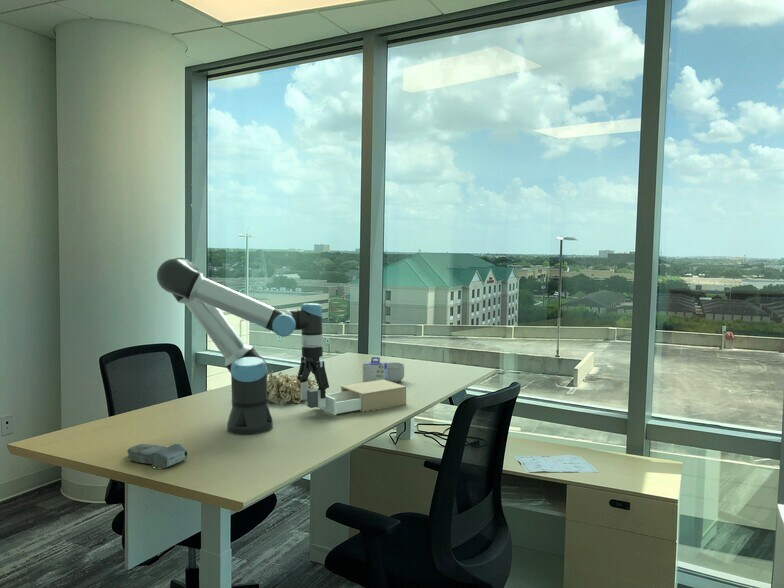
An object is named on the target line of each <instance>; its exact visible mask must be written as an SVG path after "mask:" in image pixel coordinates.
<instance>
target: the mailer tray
mask: <svg viewBox="0 0 784 588" xmlns="http://www.w3.org/2000/svg"><path fill="white" fill-rule="evenodd" d="M306 404H307V405H306V406H307V407H308V408H310V409H313V408H317V409H319V410H322V411H324V412H326V413H328V414H331V415H332V416H337V414H343V413H348V412H354V411H355V412H356V411H359V410H360V409H362V395H361V394H358V393H355V392H352V391H350V390H348V391H342V392H341V391H337V392H332V393H326V407H321V408H318V388H317V389H315V388H314V389H312V390H307V402H306Z"/></svg>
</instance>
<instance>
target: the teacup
mask: <svg viewBox="0 0 784 588" xmlns="http://www.w3.org/2000/svg"><path fill="white" fill-rule="evenodd" d="M386 363H387V381H390V382H393V383H396V384H398V383H400V382H401V381H402V380H403V379H404V377H405V363H403V362H386ZM397 382H398V383H397Z"/></svg>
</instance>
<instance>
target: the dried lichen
mask: <svg viewBox="0 0 784 588" xmlns="http://www.w3.org/2000/svg"><path fill="white" fill-rule="evenodd" d="M284 373H285V371H284V372H281V371H279V372H278V373H277V374H275V375H273V370H271V372H268V375H269V376H267V404H268V403H274V404H277V405H278V404H279V405H282V406H284V405H285V404H286V403H287V404H293V403H294V404H299V403H300V404H301V402H303V403H306V402H305V401H307V399H306V400H301V382H300V380H298V379H297V377H298V373H299V371H298V372H297V373H296V374H292V375H289V374H287V373H286V374H284ZM283 374H284V375H283ZM306 382H308V390H312V389H318V388H317V387H318V384H317V381H316V379H315V377H314V378H313V376H309V377H308V381H306Z"/></svg>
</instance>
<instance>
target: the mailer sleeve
mask: <svg viewBox="0 0 784 588" xmlns="http://www.w3.org/2000/svg"><path fill="white" fill-rule="evenodd" d="M348 390H350V391H352V392H355V393H358V394H361V395H362V409H360V410H361V411H367V412H370V411H369V410H372V411H377V410H376V409H378V410H382V408H383V409H387V408H388V409H389V408H394V407H398V406H404V405H407V386H405V385H402V384H399V383H393V382H390V381H387V380H377V381H370V382H363V381H362V382H357V383H352V384H346V385H345V384H344V385H341V386H340V392H342V391H348ZM361 411H360V412H361Z"/></svg>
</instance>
